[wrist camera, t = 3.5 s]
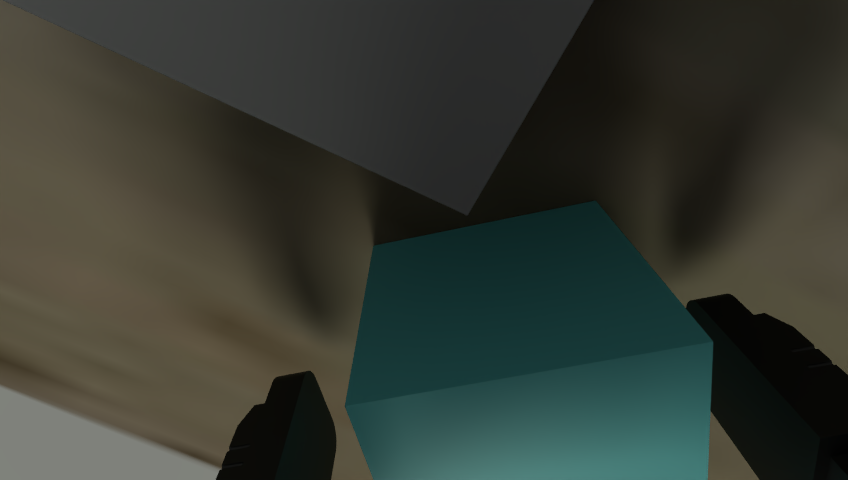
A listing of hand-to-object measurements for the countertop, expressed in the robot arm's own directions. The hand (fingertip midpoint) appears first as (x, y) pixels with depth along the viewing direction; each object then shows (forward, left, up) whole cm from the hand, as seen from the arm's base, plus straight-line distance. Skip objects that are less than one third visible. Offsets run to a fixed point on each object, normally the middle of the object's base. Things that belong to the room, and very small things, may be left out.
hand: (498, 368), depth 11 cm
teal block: (0, 0, -2) cm, 2 cm away
